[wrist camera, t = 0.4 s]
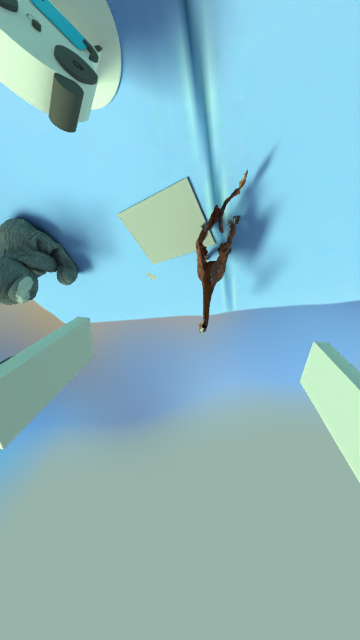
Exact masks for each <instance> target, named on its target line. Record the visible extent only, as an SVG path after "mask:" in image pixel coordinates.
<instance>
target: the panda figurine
mask: <svg viewBox="0 0 360 640" xmlns="http://www.w3.org/2000/svg"><path fill="white" fill-rule="evenodd" d="M121 67H122V58H121V47H120V41H119V36H118V32H117V28H116V24H115V21H114V18H113V15H112V13H111V10H110V8H109V5H108V3H107V1H106V0H0V82H2V83H3V84H4V85H5V86H7V87H8V88H9V89H10V90H12V91H13V92H14V93H16V94H17V95H18V96H20V97H21V98H23V99H24V100H26V101H27V102H28V103H30V104H31V105H33V106H35V107H36V108H38V109H40V110H42V111H43V112H45V113H48V114H49V118H50V120H51V122H52V123H53V124H54V125H55V126H57V127H58V128H60V129H62V130H64V131H66V132H75V131H76V127H77V123H78V122H84V121H87V120H88V119H89V115H90V111H91V109H99V108H102V107H104V106H105V105H107V104H108V103H109V102H110V101H111V100H112V99H113V97H114V96H115V94H116V92H117V89H118V86H119V83H120V78H121Z"/></svg>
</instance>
